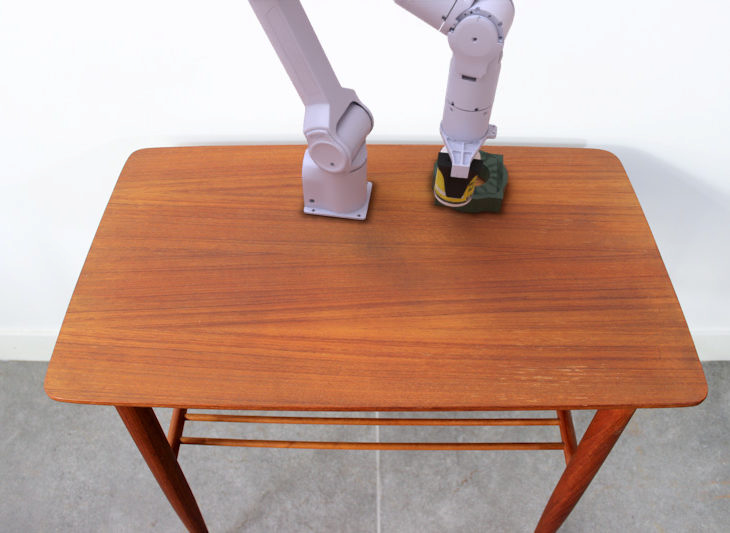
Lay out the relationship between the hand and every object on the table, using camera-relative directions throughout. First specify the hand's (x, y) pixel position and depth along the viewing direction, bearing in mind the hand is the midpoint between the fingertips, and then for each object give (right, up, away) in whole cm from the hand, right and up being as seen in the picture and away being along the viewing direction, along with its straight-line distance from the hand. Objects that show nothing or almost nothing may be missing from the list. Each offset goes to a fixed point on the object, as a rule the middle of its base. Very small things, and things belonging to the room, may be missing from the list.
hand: (455, 180), depth 82 cm
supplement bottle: (0, -2, +2) cm, 3 cm away
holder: (+4, +1, +13) cm, 14 cm away
